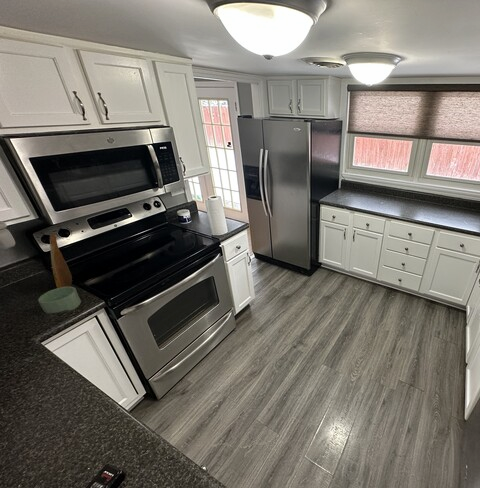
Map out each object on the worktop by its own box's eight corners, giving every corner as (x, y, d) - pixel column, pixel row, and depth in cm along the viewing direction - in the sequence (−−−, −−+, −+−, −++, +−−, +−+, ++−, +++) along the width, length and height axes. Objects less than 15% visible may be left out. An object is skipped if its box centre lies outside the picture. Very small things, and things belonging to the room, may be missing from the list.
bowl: (37, 317, 119) (30, 303, 116) (61, 299, 130) (54, 286, 127) (67, 316, 120) (60, 302, 116) (88, 299, 131) (82, 286, 128)
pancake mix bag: (77, 274, 151) (58, 229, 139) (74, 291, 137) (52, 242, 125) (61, 278, 147) (40, 232, 135) (56, 295, 133) (32, 245, 121)
